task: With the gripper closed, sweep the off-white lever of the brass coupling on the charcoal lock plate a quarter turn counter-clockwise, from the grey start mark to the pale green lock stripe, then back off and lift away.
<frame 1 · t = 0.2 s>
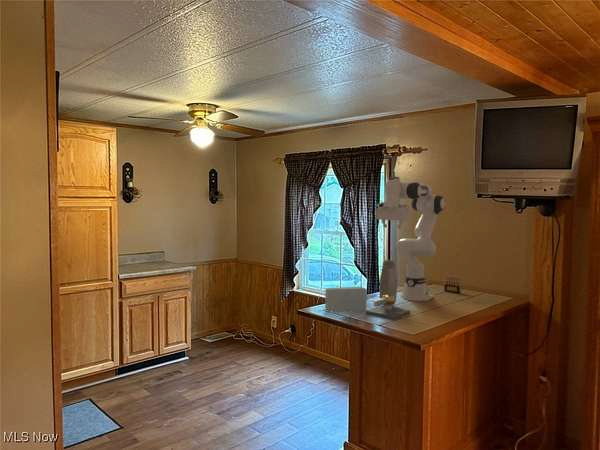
hand: (392, 227, 264), 48 cm above the countertop, tool pointing down, fingers open, 8 cm apart
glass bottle: (387, 306, 271), on the countertop
ammunition clip: (452, 292, 312), on the countertop
lock plate: (388, 314, 251), on the countertop
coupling: (383, 300, 247), point 8 cm above the countertop, hinge at 0.0°
guitar pedal: (345, 311, 258), on the countertop
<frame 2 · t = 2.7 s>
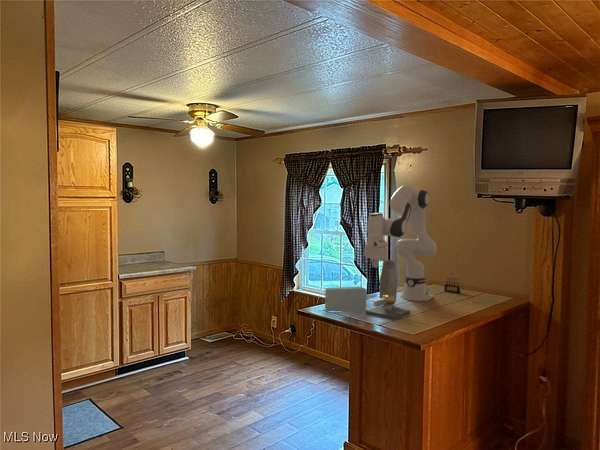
hand: (374, 267, 247), 27 cm above the countertop, tool pointing down, fingers closed
nothing on the countertop moved.
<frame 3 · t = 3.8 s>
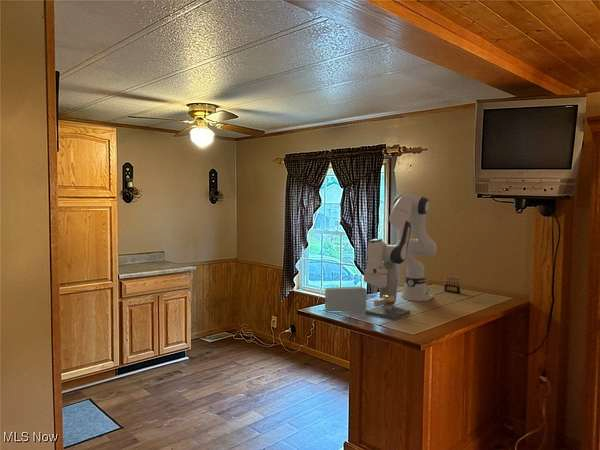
hand: (374, 293, 247), 13 cm above the countertop, tool pointing down, fingers closed
nothing on the countertop moved.
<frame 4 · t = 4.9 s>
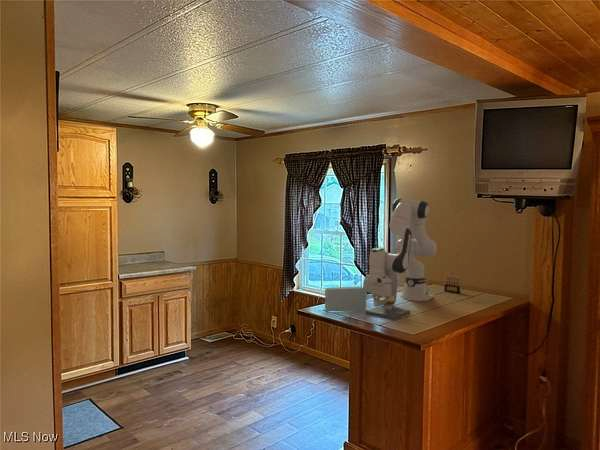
hand: (376, 302, 246), 8 cm above the countertop, tool pointing down, fingers closed
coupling: (383, 300, 247), point 8 cm above the countertop, hinge at 0.0°, touching gripper
everything else where it was.
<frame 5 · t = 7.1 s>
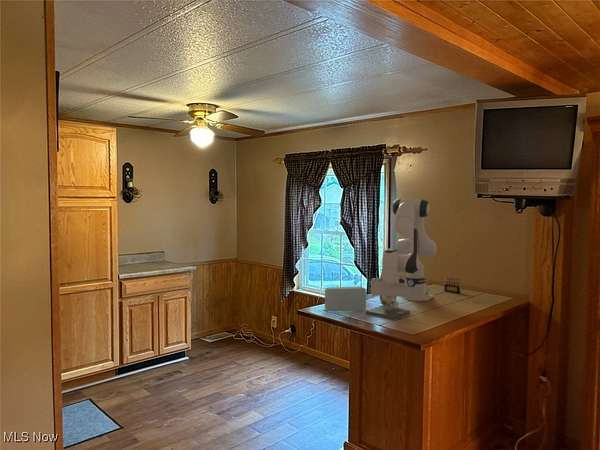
hand: (389, 304, 242), 8 cm above the countertop, tool pointing down, fingers closed
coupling: (391, 301, 246), point 8 cm above the countertop, hinge at 47.6°, touching gripper
everything else where it was.
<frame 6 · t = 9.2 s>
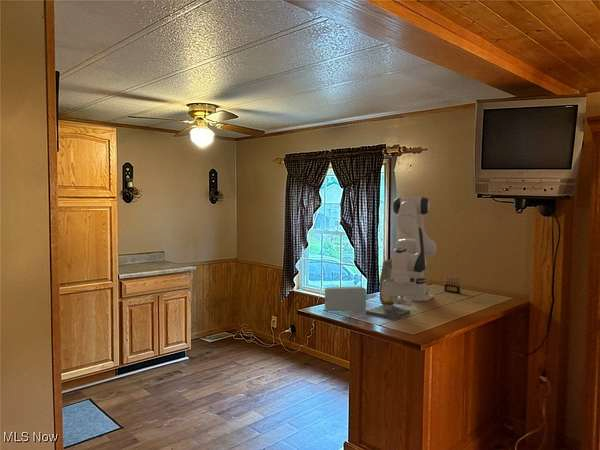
hand: (398, 303, 243), 8 cm above the countertop, tool pointing down, fingers closed
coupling: (396, 300, 247), point 8 cm above the countertop, hinge at 89.2°
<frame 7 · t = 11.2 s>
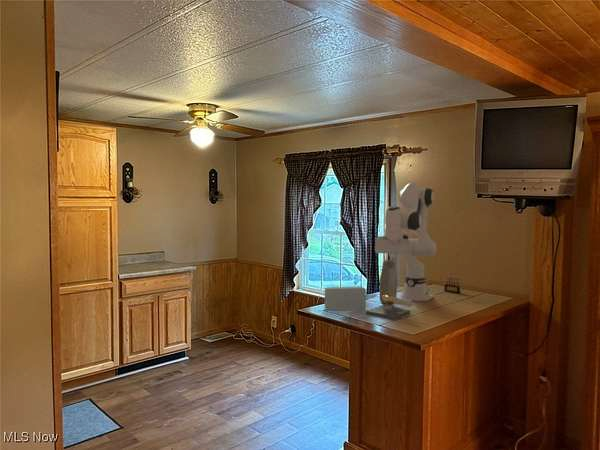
hand: (392, 260, 249), 30 cm above the countertop, tool pointing down, fingers closed
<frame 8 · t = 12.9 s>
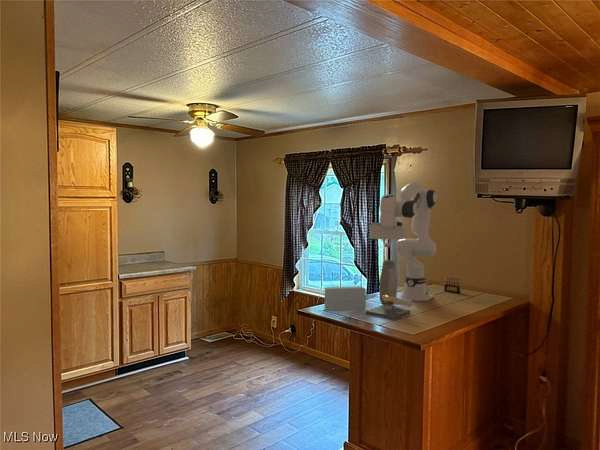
hand: (387, 246, 257), 37 cm above the countertop, tool pointing down, fingers closed
at the end: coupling at +89° (first picture: +0°); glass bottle moved 0.2 cm from its start; guitar pedal moved 1.7 cm from its start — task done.
